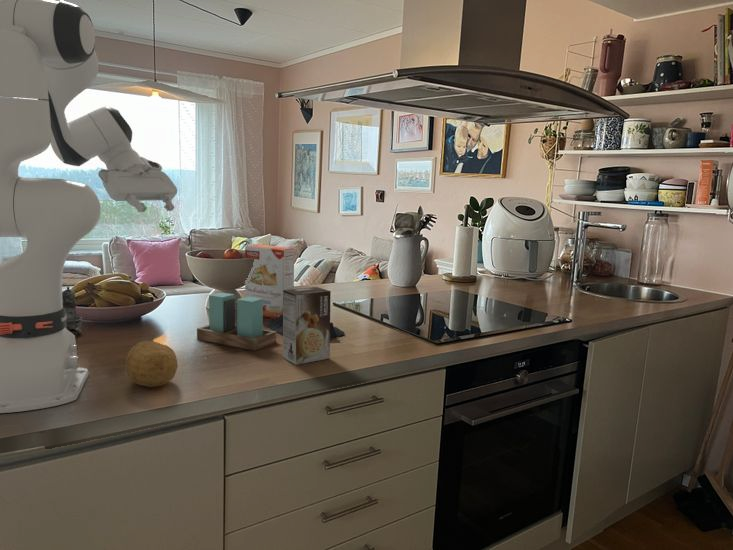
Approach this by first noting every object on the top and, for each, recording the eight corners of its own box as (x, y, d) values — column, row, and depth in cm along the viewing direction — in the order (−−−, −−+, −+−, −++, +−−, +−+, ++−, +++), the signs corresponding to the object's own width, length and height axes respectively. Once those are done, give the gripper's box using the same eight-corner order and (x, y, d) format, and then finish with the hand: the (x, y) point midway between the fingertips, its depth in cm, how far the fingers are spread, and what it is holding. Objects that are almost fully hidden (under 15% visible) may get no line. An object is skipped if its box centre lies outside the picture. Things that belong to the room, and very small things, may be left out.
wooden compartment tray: (276, 342, 139) (276, 331, 139) (255, 350, 132) (255, 339, 131) (219, 331, 147) (219, 321, 146) (197, 338, 139) (196, 328, 139)
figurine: (52, 333, 139) (49, 286, 137) (73, 328, 145) (71, 283, 143) (66, 337, 137) (64, 289, 135) (88, 331, 142) (86, 285, 140)
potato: (166, 369, 117) (166, 332, 115) (187, 390, 105) (187, 350, 104) (117, 377, 111) (115, 338, 110) (133, 400, 100) (132, 358, 99)
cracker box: (243, 314, 167) (243, 245, 163) (256, 310, 172) (256, 243, 169) (282, 320, 161) (283, 249, 157) (294, 316, 166) (295, 247, 163)
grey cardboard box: (316, 351, 133) (317, 286, 130) (330, 359, 128) (332, 290, 125) (281, 357, 127) (282, 289, 125) (295, 365, 122) (296, 294, 120)
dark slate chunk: (307, 320, 164) (307, 304, 164) (348, 338, 147) (349, 321, 146) (260, 326, 155) (260, 309, 155) (298, 346, 138) (298, 327, 137)
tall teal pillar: (236, 332, 142) (236, 294, 140) (224, 336, 138) (224, 297, 136) (220, 330, 144) (220, 292, 142) (209, 333, 140) (208, 295, 138)
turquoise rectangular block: (262, 337, 138) (262, 298, 137) (251, 341, 134) (251, 301, 133) (246, 334, 140) (246, 296, 139) (235, 338, 136) (235, 299, 135)
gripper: (101, 160, 136) (131, 202, 133) (164, 164, 154) (191, 201, 151) (89, 178, 138) (118, 219, 136) (153, 179, 157) (179, 216, 154)
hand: (157, 210), depth 144 cm, fingers open, 8 cm apart
